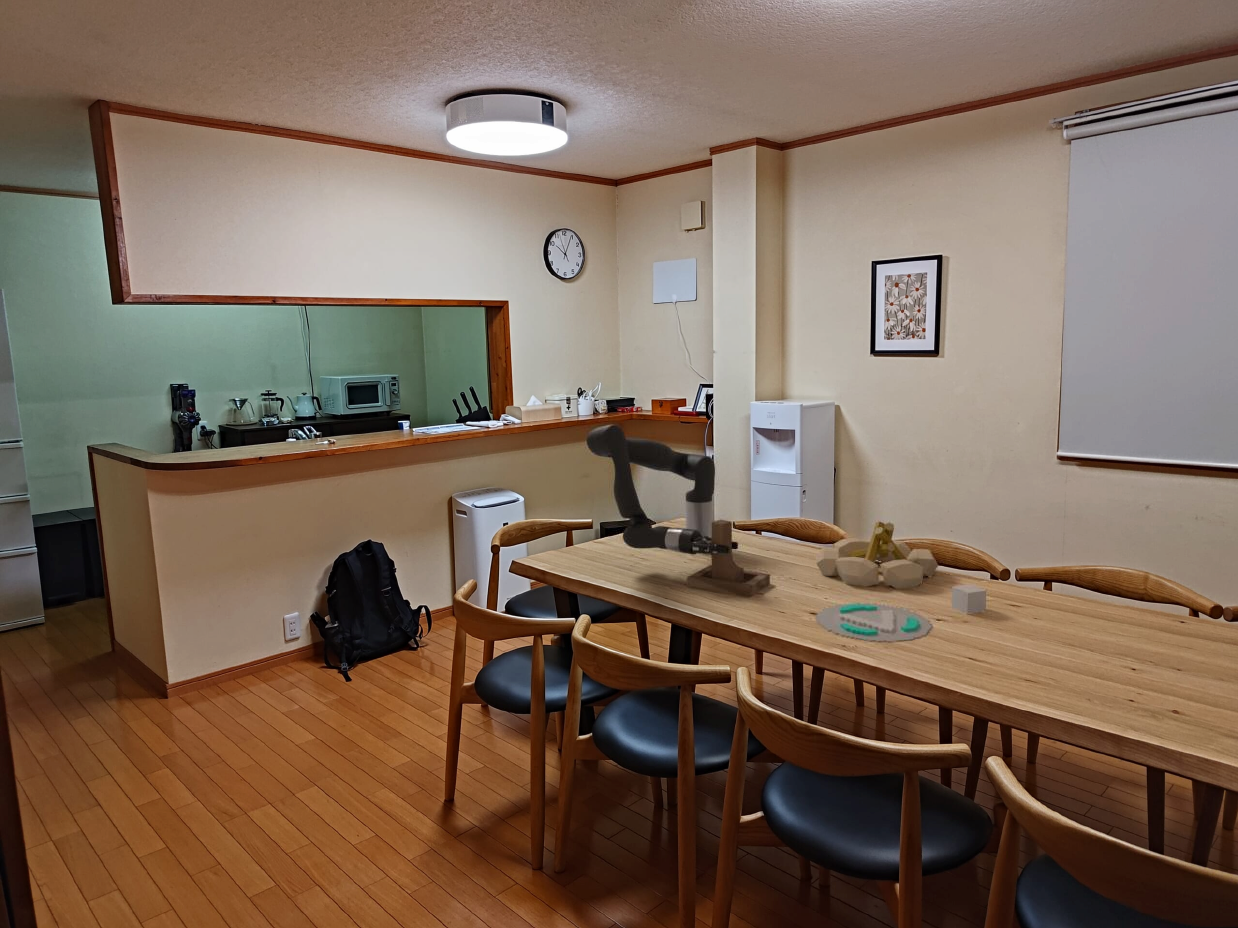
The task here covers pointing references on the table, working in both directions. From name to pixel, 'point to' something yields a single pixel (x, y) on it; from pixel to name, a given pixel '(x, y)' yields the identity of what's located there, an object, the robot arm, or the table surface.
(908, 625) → the grey flat disc
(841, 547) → the campfire
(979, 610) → the gray cube
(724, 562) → the wooden block
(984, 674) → the table surface
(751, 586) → the brown rectangular tray
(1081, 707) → the table surface
